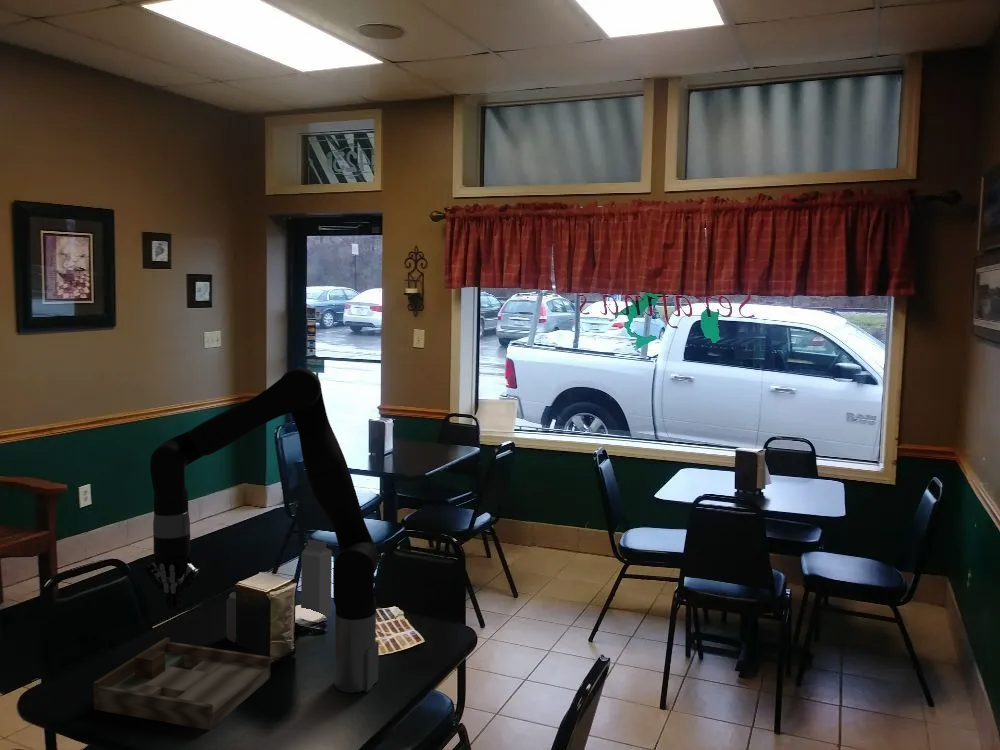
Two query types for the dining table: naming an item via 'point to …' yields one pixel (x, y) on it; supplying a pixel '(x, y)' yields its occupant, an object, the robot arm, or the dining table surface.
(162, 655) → the block
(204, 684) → the compartment tray
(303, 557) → the milk
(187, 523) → the robot arm
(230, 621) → the can
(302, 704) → the dining table surface
